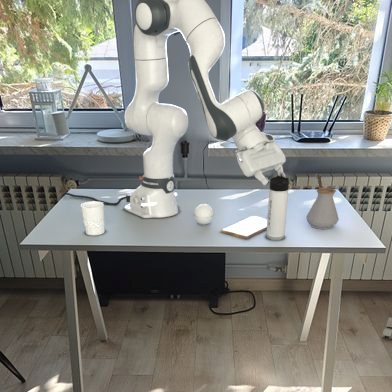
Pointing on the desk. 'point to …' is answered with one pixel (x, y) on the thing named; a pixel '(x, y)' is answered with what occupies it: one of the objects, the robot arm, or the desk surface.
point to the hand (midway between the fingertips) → (275, 181)
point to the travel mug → (277, 208)
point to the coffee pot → (323, 208)
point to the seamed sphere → (203, 214)
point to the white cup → (93, 217)
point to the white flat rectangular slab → (247, 227)
